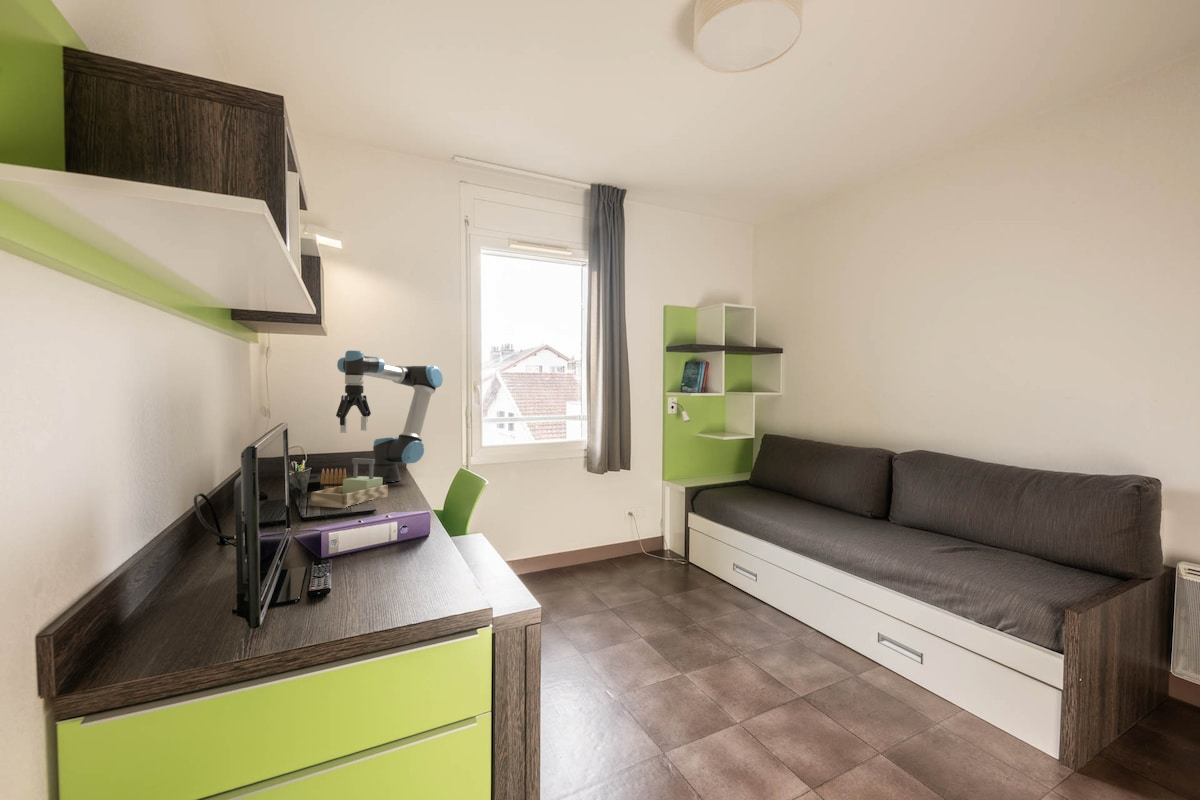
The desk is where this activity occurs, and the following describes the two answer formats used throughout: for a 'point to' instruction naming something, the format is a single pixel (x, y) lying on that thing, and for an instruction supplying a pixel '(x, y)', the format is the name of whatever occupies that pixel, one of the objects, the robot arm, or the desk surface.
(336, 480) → the ammunition clip
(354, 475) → the green panel with handle
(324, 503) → the bay
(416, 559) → the desk surface
